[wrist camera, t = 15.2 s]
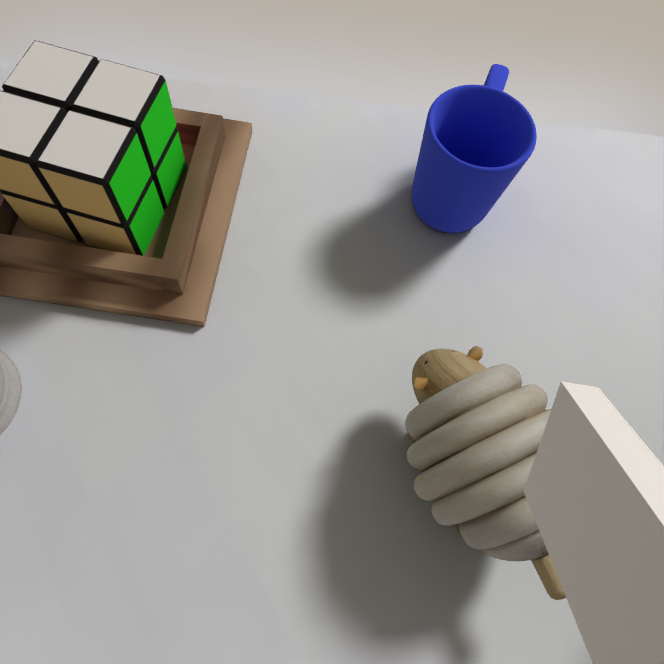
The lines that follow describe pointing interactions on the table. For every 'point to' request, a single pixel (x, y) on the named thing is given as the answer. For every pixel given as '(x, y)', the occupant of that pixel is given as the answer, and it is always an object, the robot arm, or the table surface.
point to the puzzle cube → (88, 148)
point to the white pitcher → (8, 390)
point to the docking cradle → (164, 250)
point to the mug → (470, 153)
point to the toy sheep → (480, 454)
